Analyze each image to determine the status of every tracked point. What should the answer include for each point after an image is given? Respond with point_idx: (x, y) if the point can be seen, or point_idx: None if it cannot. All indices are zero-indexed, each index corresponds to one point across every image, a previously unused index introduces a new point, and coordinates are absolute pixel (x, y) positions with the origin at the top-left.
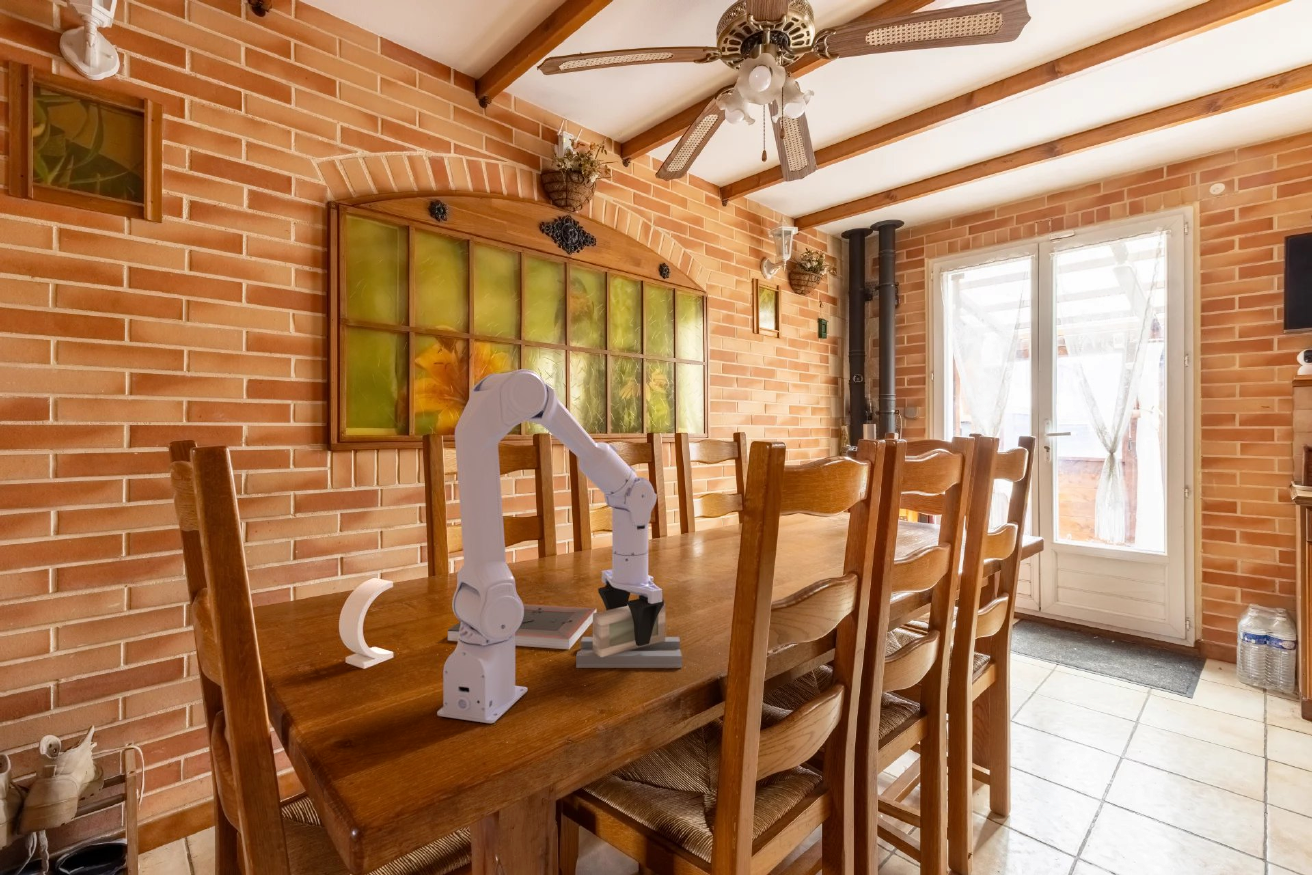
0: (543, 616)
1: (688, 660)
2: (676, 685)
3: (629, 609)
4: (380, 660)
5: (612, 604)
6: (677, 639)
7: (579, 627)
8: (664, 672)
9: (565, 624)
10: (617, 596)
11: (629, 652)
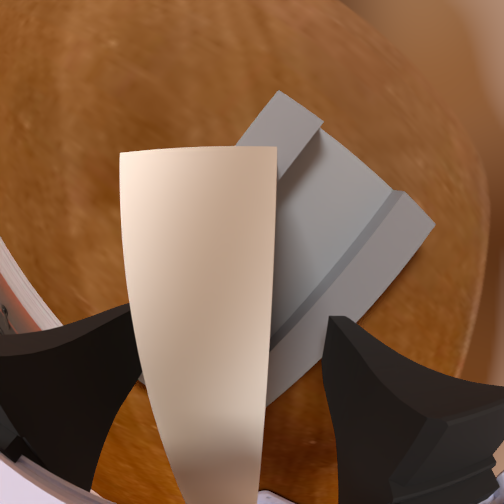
0: None
1: (388, 155)
2: (464, 301)
3: (224, 441)
4: (94, 493)
5: (98, 426)
6: (299, 113)
7: (36, 323)
8: (403, 280)
9: (18, 332)
10: (67, 428)
11: (289, 351)
